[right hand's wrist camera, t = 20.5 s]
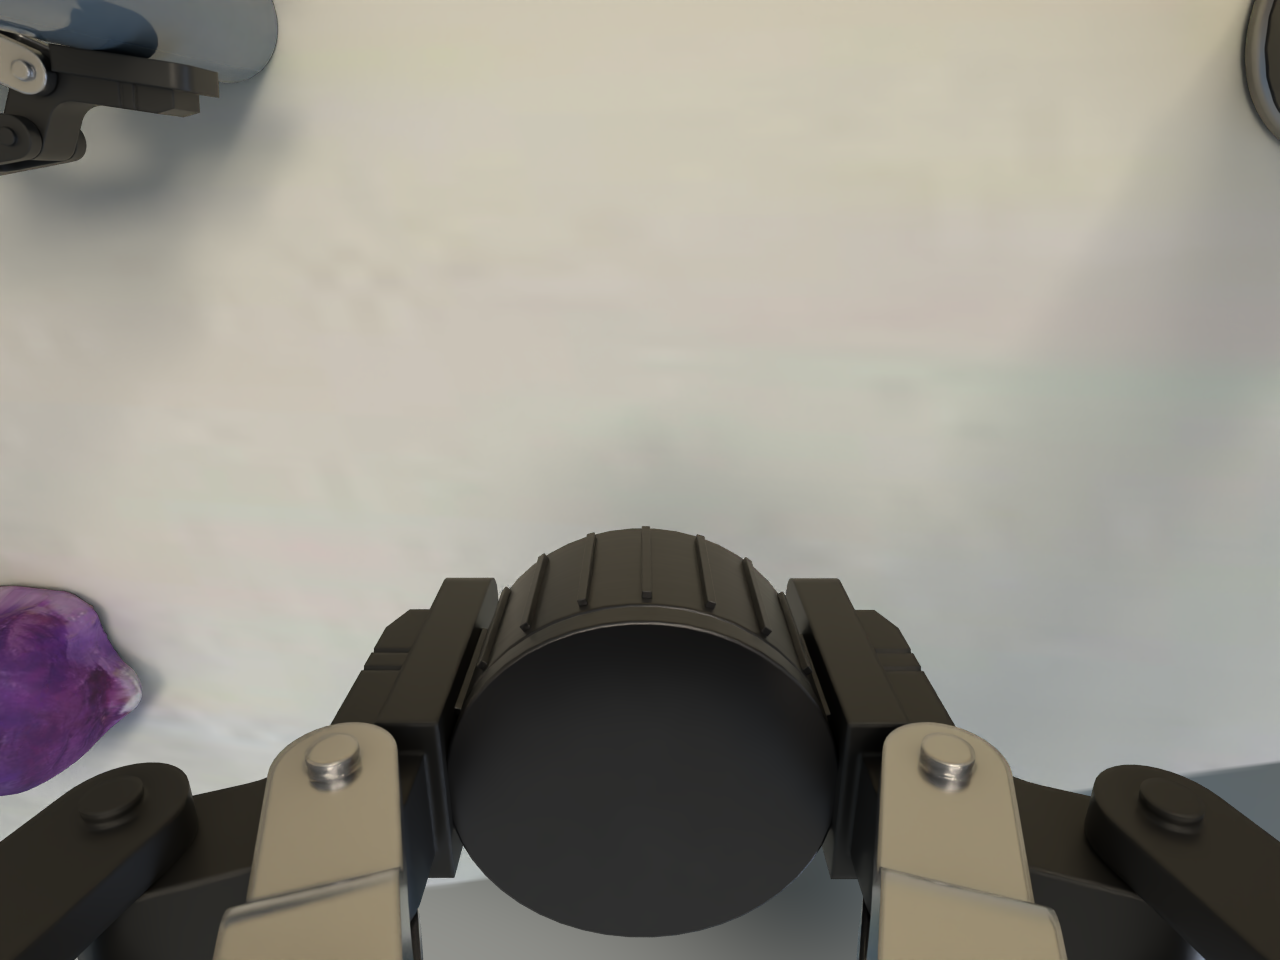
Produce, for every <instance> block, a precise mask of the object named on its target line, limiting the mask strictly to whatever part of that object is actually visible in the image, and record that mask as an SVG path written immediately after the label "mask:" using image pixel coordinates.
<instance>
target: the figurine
mask: <svg viewBox="0 0 1280 960" xmlns="http://www.w3.org/2000/svg"><path fill="white" fill-rule="evenodd" d="M141 697H142V687H141V682H140V679H139V678H138V676H137V674H136V672H135V671H134V670H133V669H132V668H131V667H130V666H128V665H127V664H126V663H125V662H124V661H123V660H122V659H121V658H120V657H119V655H118V653H117V652H116V651H115V650H114V648H113V647H112V645H111V643H110V641H109V640H108V639H107V634H106V633H105V632H104V630H103V627H102V625H101V623H100V620H99V617H98V615H97V613H96V612H95V611H94V609H93V606H92V605H90V604H88V603H86V602H85V601H83V600H82V599H80V598H79V597H78V596H76V595H75V594H72V593H69V592H66V591H56V590H48V589H40V588H31V587H21V586H0V796H5V795H12V794H18V793H21V792H24V791H27V790H30V789H32V788H34V787H36V786H38V785H40V784H42V783H44V782H46V781H48V780H49V779H51V778H53V777H54V776H56V775H57V774H59V773H61V772H62V771H64V770H65V769H66V768H68V767H69V766H70V765H72V764H73V763H75V762H76V761H77V760H78V759H80V758H81V757H82V756H83V755H84V754H85V753H86V752H88V751H89V750H90V748H91V747H92V746H93V745H94V744H95V743H96V742H97V741H98V740H99V739H100V738H101V737H102V736H103V735H104V734H105V733H106V732H107V731H108V730H109V729H110V728H111V727H112V726H114V725H115V724H116V723H117V722H119V721H120V720H121V719H122V718H123V717H125V716H126V715H127V714H129V713H130V712H131V711H132V710H134V709H135V708H136V707H137V705H138V704H139V702H140V701H141Z"/></svg>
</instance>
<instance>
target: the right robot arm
mask: <svg viewBox="0 0 1280 960" xmlns="http://www.w3.org/2000/svg"><path fill="white" fill-rule="evenodd" d="M1245 67H1246V77H1247V83H1248V88H1249V91H1250V95H1251V98H1252V101H1253V103H1254V106H1255V108H1256V110H1257V112H1258V114H1259V116H1260V118H1261V119H1262V121H1263V122H1264V124H1265V125H1266V126H1267V128H1268V129H1269V130H1270V131H1271V132H1272V133H1273V134H1274V135H1275V137H1276V138H1278V139H1279V140H1280V0H1255V2H1254V5H1253V9H1252V12H1251V16H1250V20H1249V25H1248V30H1247V37H1246V46H1245ZM786 598H787V600H788V603H789V606H790V609H791V612H792V615H793V617H794V620H795V623H796V626H797V629H798V632H799V634H802V635H803V638H804V641H805V644H806V647H807V649H808V652H809V655H810V658H811V661H812V663H813V666H814V669H815V672H816V675H817V677H818V680H819V683H820V686H821V689H822V691H823V694H824V697H825V700H826V703H827V705H828V708H829V711H830V714H831V715H830V722H829V725H830V728H831V730H832V733H833V736H834V739H835V743H836V747H837V752H838V773H837V783H836V792H835V801H834V810H833V818H832V825H831V828H830V830H829V832H828V834H827V836H826V838H825V840H824V843H823V844H822V848H823V852H824V856H825V859H826V863H827V867H828V870H829V874H830V878H831V879H858V882H859V885H860V888H861V891H862V894H863V901H862V908H861V915H860V923H859V936H858V951H857V960H1280V842H1279V841H1278V840H1276V839H1275V838H1274V837H1272V836H1271V835H1270V834H1268V833H1267V832H1266V831H1264V830H1263V829H1262V828H1260V827H1259V826H1258V825H1256V824H1255V823H1254V822H1252V821H1251V820H1250V819H1248V818H1247V817H1246V816H1244V815H1243V814H1242V813H1240V812H1239V811H1238V810H1236V809H1235V808H1234V807H1232V806H1231V805H1230V804H1228V803H1227V802H1226V801H1224V800H1223V799H1222V798H1220V797H1219V796H1217V795H1216V794H1214V793H1213V792H1212V791H1210V790H1209V789H1207V788H1205V787H1203V786H1202V785H1200V784H1198V783H1196V782H1194V781H1192V780H1190V779H1188V778H1185V777H1183V776H1180V775H1178V774H1175V773H1172V772H1169V771H1166V770H1162V769H1159V768H1154V767H1149V766H1142V765H1120V766H1114V767H1111V768H1108V769H1106V770H1104V771H1103V772H1101V773H1100V774H1099V775H1098V777H1097V778H1096V780H1095V783H1094V786H1093V790H1092V794H1091V796H1087V795H1082V794H1078V793H1073V792H1069V791H1064V790H1060V789H1055V788H1051V787H1046V786H1042V785H1038V784H1034V783H1030V782H1027V781H1024V780H1021V779H1018V778H1016V777H1013V776H1012V772H1011V769H1010V766H1009V764H1008V762H1007V761H1006V759H1005V758H1004V757H1003V755H1002V754H1001V753H1000V752H999V751H998V750H997V749H996V748H995V747H994V746H992V745H991V744H990V743H988V742H987V741H985V740H984V739H982V738H980V737H979V736H977V735H975V734H973V733H971V732H968V731H966V730H964V729H961V728H958V727H955V725H954V723H953V721H952V720H951V718H950V716H949V715H948V713H947V711H946V709H945V708H944V706H943V704H942V702H941V701H940V699H939V697H938V696H937V694H936V692H935V690H934V689H933V687H932V685H931V683H930V682H929V680H928V678H927V677H926V675H925V673H924V671H921V666H920V664H919V663H918V661H917V659H916V658H915V656H914V654H913V653H911V649H910V647H909V645H908V644H907V642H906V640H905V639H904V637H903V635H902V633H901V632H900V630H899V628H898V627H896V626H895V625H894V624H892V623H891V622H890V621H888V620H887V619H886V618H884V617H883V616H882V615H880V614H879V613H878V612H876V611H875V610H854V608H853V606H852V604H851V602H850V600H849V598H848V596H847V594H846V592H845V590H844V588H843V586H842V584H841V582H840V580H839V579H837V578H791V579H789V581H788V585H787V590H786ZM497 604H498V590H497V584H496V581H495V579H494V578H446V579H445V580H444V582H443V584H442V586H441V588H440V590H439V592H438V594H437V596H436V598H435V600H434V602H433V604H432V606H431V608H430V609H410V610H409V611H407V612H406V613H405V614H403V615H402V616H401V617H399V618H398V619H397V620H395V621H394V622H393V623H391V624H390V625H389V626H387V627H386V628H385V630H384V632H383V634H382V635H381V637H380V639H379V641H378V642H377V644H376V646H375V648H374V653H371V655H370V656H369V658H368V660H367V662H366V663H365V665H364V670H361V672H360V674H359V676H358V677H357V679H356V681H355V683H354V684H353V686H352V688H351V690H350V691H349V693H348V695H347V697H346V699H345V700H344V702H343V704H342V706H341V707H340V709H339V711H338V713H337V714H336V716H335V718H334V720H333V721H332V723H331V725H329V726H325V727H322V728H319V729H316V730H314V731H312V732H309V733H307V734H305V735H303V736H301V737H300V738H298V739H296V740H295V741H293V742H292V743H290V744H289V745H288V746H286V747H285V748H284V749H283V750H282V751H281V752H280V753H279V754H278V755H277V757H276V758H275V759H274V761H273V762H272V764H271V766H270V768H269V772H268V776H267V778H264V779H262V780H259V781H255V782H251V783H248V784H244V785H239V786H235V787H230V788H226V789H221V790H217V791H212V792H208V793H203V794H199V795H194V796H192V792H191V789H190V785H189V781H188V778H187V776H186V774H185V773H184V772H183V771H182V770H180V769H179V768H177V767H175V766H172V765H169V764H164V763H139V764H133V765H128V766H123V767H120V768H116V769H113V770H110V771H107V772H104V773H102V774H99V775H97V776H95V777H93V778H91V779H88V780H86V781H85V782H83V783H81V784H79V785H77V786H76V787H74V788H73V789H71V790H70V791H68V792H67V793H65V794H64V795H62V796H61V797H60V798H58V799H57V800H56V801H54V802H53V803H52V804H50V805H49V806H48V807H46V808H45V809H44V810H42V811H41V812H40V813H38V814H37V815H36V816H34V817H33V818H32V819H30V820H29V821H28V822H26V823H25V824H24V825H22V826H21V827H20V828H18V829H17V830H16V831H14V832H13V833H12V834H10V835H9V836H8V837H6V838H5V839H4V840H2V841H1V842H0V960H75V959H76V958H77V957H78V960H423V951H422V936H421V923H420V915H419V908H418V907H419V905H420V902H421V899H422V895H423V892H424V889H425V886H426V882H427V879H428V878H454V877H455V873H456V870H457V866H458V862H459V858H460V855H461V851H462V847H463V844H462V843H461V841H460V839H459V836H458V834H457V832H456V830H455V827H454V825H453V818H452V810H451V801H450V791H449V782H448V772H447V752H448V748H449V744H450V739H451V736H452V733H453V730H454V727H455V724H456V722H457V719H458V715H454V706H455V703H456V701H457V698H458V695H459V692H460V689H461V686H462V684H463V681H464V678H465V675H466V672H467V670H468V667H469V664H470V661H471V658H472V656H473V653H474V650H475V647H476V644H477V642H478V639H479V636H480V633H481V630H482V628H486V629H488V628H489V625H490V623H491V621H492V618H493V616H494V613H495V610H496V607H497Z"/></svg>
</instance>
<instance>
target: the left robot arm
mask: <svg viewBox="0 0 1280 960" xmlns="http://www.w3.org/2000/svg"><path fill="white" fill-rule="evenodd" d="M0 84H2V85H5V86H7V87H9V92H8V97H7V101H6V106H5V110H4V113H2V114H0V176H1V175H6V174H11V173H16V172H21V171H26V170H32V169H37V168H42V167H47V166H52V165H57V164H63V163H68V162H73V161H77V160H79V159H81V158H82V157H83V155H84V154H85V151H86V140H85V137H84V135H83V133H82V131H81V130H80V128H81V124H82V120H83V117H84V116H85V114H86V113H87V111H88V110H90V109H91V108H93V107H96V106H101V105H102V106H110V107H116V108H123V109H130V110H137V111H144V112H150V113H157V114H164V115H171V116H178V117H186V116H190V115H193V114H197V113H200V106H199V95H204V96H210V97H218V98H219V80H218V72H214V71H210V70H206V69H202V68H199V67H195V66H190V65H185V64H180V63H174V62H168V61H162V60H155V59H148V58H142V57H135V56H128V55H122V54H115V53H109V52H102V51H95V50H86V49H79V48H74V47H69V46H62V45H55V44H49V43H48V44H47V43H45V42H42V41H40V40H38V39H36V38H32V37H27V36H23V35H19V34H15V33H10V32H6V31H2V30H0Z"/></svg>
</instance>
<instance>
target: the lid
mask: <svg viewBox="0 0 1280 960" xmlns="http://www.w3.org/2000/svg"><path fill="white" fill-rule="evenodd" d="M454 715H458V719H457V722H456V724H455V727H454V730H453V733H452V736H451V739H450V744H449V748H448V752H447V772H448V782H449V791H450V801H451V810H452V818H453V825H454V827H455V830H456V832H457V834H458V836H459V839H460V841H461V843H462V844H463V846H464V848H465V849H466V851H467V852H468V854H469V855H470V857H471V859H472V860H473V861H474V862H475V864H476V865H477V866H478V867H479V868H480V870H481V871H482V872H483V873H484V874H485V875H486V876H487V877H488V878H489V879H490V880H491V881H492V882H493V883H494V884H495V885H496V886H497V887H499V888H500V889H501V890H502V891H503V892H505V893H506V894H507V895H509V896H510V897H512V898H513V899H515V900H516V901H517V902H519V903H520V904H522V905H524V906H525V907H527V908H529V909H531V910H533V911H534V912H536V913H538V914H540V915H542V916H545V917H547V918H549V919H552V920H554V921H556V922H559V923H561V924H565V925H568V926H571V927H574V928H578V929H581V930H585V931H590V932H595V933H600V934H605V935H614V936H624V937H661V936H672V935H680V934H685V933H690V932H695V931H700V930H704V929H707V928H710V927H714V926H717V925H721V924H723V923H726V922H728V921H731V920H733V919H736V918H738V917H740V916H743V915H745V914H747V913H748V912H750V911H752V910H754V909H756V908H758V907H759V906H761V905H763V904H765V903H766V902H767V901H769V900H770V899H772V898H773V897H775V896H776V895H778V894H779V893H780V892H782V891H783V890H784V889H785V888H786V887H787V886H788V885H790V884H791V883H792V882H793V881H794V880H795V879H796V878H797V877H798V876H799V875H800V874H801V873H802V872H803V871H804V869H805V868H806V867H807V866H808V865H809V864H810V862H811V861H812V860H813V858H814V857H815V855H816V854H817V852H818V851H819V849H820V847H821V846H822V844H823V843H824V840H825V838H826V836H827V834H828V832H829V830H830V828H831V825H832V818H833V810H834V801H835V792H836V783H837V773H838V752H837V747H836V743H835V739H834V736H833V733H832V730H831V728H830V725H829V722H830V715H831V714H830V711H829V708H828V705H827V703H826V700H825V697H824V694H823V691H822V689H821V686H820V683H819V680H818V677H817V675H816V672H815V669H814V666H813V663H812V661H811V658H810V655H809V652H808V649H807V647H806V644H805V641H804V638H803V635H802V634H799V632H798V629H797V626H796V623H795V620H794V617H793V615H792V612H791V609H790V606H789V603H788V600H787V598H786V596H785V594H784V593H783V592H781V593H779V594H778V593H777V592H776V590H775V589H774V588H773V586H772V585H771V584H770V583H769V581H768V580H767V579H766V578H765V577H764V576H762V575H761V574H760V573H759V572H758V571H757V570H756V569H755V568H754V567H753V564H752V561H751V560H749V559H748V558H747V557H745V558H744V559H742V558H740V557H739V556H738V555H736V554H734V553H732V552H731V551H729V550H727V549H725V548H723V547H721V546H720V545H717V544H715V543H712V542H710V541H707V540H705V537H704V536H701V535H698V534H697V536H692V535H688V534H685V533H681V532H677V531H669V530H661V529H650V526H642V529H624V530H615V531H608V532H604V533H600V534H596V535H595V533H594V532H593V533H590V534H587V537H585V538H583V539H580V540H577V541H574V542H572V543H569V544H567V545H565V546H563V547H561V548H559V549H557V550H555V551H554V552H552V553H550V554H548V555H547V556H546V555H545V553H544V554H542V555H541V556H539V557H538V560H537V563H535V564H534V565H533V566H531V567H530V568H529V569H528V570H527V571H526V572H525V573H524V574H523V575H522V576H521V577H520V578H519V579H517V581H516V582H515V583H514V584H513V586H512V587H511V588H510V589H509V588H508V587H505V588H504V589H503V591H502V593H501V596H500V598H499V601H498V604H497V607H496V610H495V613H494V616H493V618H492V621H491V623H490V625H489V628H488V629H486V628H482V630H481V633H480V636H479V639H478V642H477V644H476V647H475V650H474V653H473V656H472V658H471V661H470V664H469V667H468V670H467V672H466V675H465V678H464V681H463V684H462V686H461V689H460V692H459V695H458V698H457V701H456V703H455V706H454Z"/></svg>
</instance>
